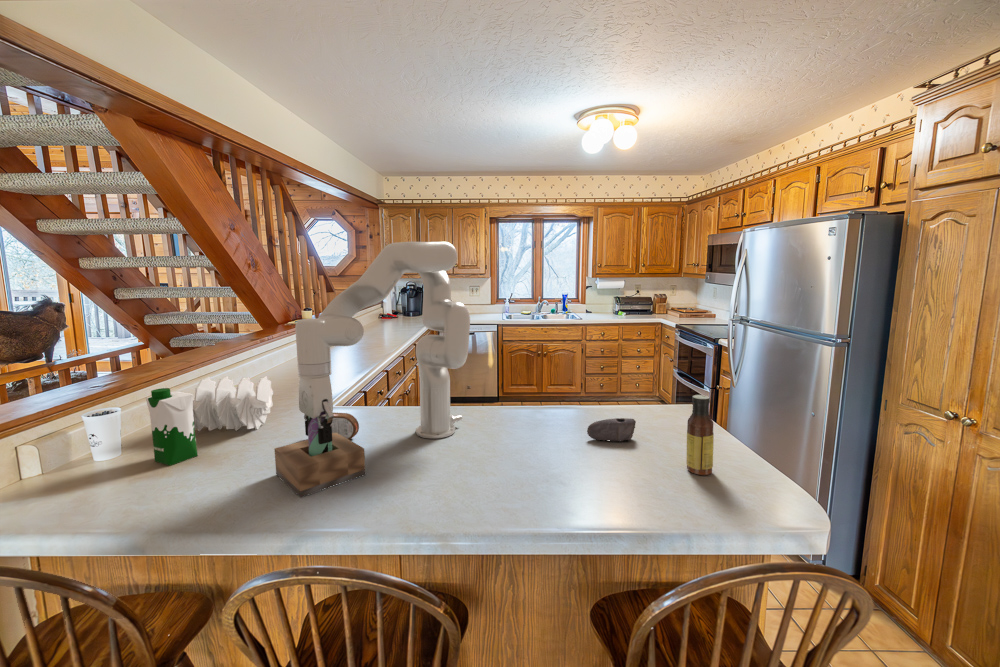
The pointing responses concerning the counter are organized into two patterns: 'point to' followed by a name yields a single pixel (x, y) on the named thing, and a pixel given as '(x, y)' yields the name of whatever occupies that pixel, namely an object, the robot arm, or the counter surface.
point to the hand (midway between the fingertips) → (318, 437)
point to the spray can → (316, 438)
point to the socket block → (319, 465)
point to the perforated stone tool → (612, 429)
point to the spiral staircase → (231, 404)
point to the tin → (345, 425)
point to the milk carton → (172, 426)
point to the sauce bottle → (700, 437)
